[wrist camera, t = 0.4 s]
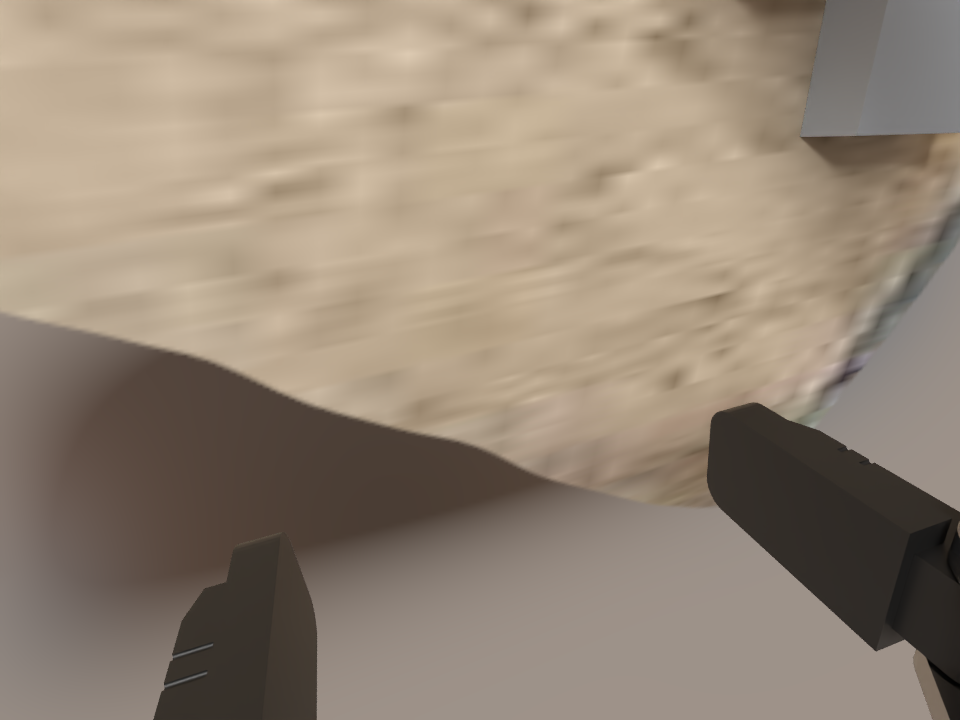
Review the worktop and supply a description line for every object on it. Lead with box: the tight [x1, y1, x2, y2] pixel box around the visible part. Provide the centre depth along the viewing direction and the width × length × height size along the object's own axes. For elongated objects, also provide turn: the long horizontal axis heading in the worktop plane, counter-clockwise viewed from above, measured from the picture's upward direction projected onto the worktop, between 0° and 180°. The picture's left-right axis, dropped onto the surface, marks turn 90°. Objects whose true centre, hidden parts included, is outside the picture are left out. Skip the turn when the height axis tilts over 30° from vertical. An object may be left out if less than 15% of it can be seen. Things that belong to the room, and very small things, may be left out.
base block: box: [800, 0, 960, 137], centre depth 37 cm, size 10×10×5 cm
